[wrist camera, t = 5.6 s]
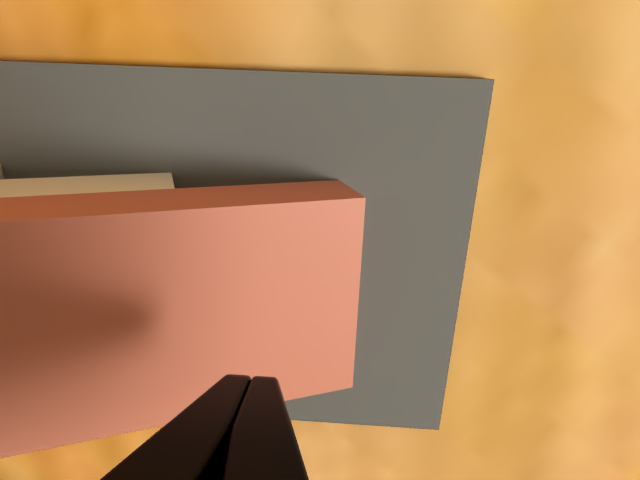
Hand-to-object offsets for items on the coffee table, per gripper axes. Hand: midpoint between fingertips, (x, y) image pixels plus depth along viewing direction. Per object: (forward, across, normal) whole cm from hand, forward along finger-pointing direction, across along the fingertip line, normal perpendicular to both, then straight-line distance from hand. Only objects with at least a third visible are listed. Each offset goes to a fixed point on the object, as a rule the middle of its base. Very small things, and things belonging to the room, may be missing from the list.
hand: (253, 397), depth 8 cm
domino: (+4, -2, 0) cm, 5 cm away
